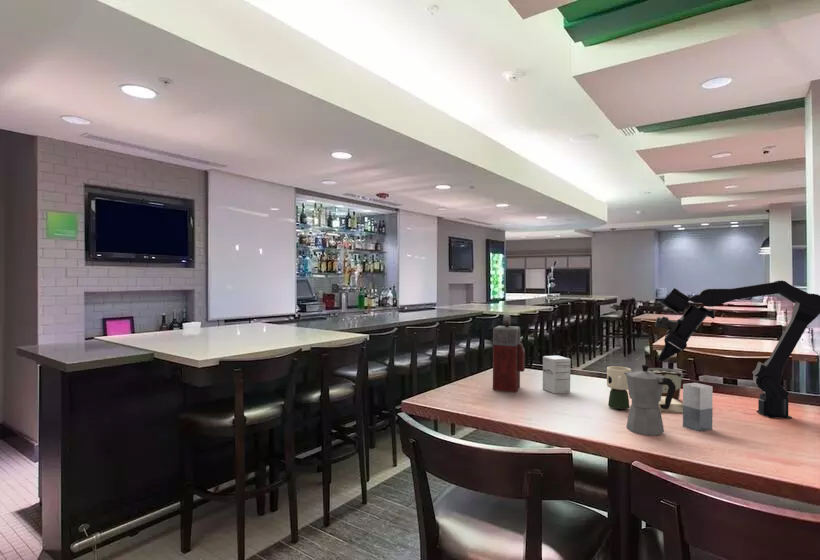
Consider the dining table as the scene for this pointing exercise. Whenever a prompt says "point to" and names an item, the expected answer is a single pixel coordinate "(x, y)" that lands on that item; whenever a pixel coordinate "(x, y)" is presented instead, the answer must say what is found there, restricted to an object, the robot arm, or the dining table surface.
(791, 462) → the dining table surface
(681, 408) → the stand
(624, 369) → the character mug
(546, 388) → the supplement box
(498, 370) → the red thermos flask
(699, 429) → the block
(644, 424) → the coffeepot
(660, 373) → the food container
